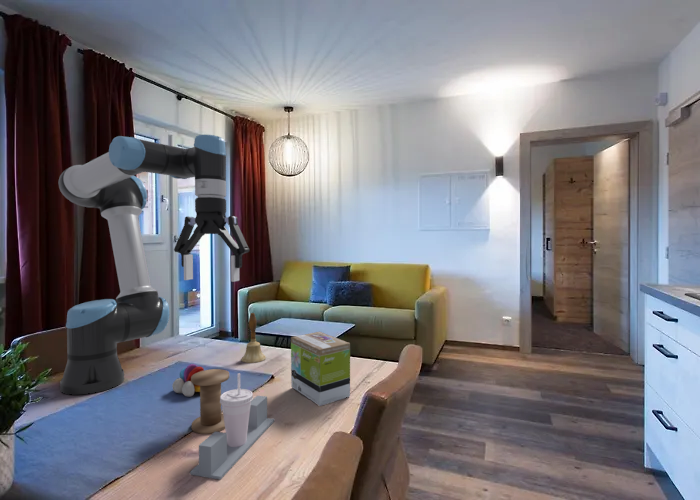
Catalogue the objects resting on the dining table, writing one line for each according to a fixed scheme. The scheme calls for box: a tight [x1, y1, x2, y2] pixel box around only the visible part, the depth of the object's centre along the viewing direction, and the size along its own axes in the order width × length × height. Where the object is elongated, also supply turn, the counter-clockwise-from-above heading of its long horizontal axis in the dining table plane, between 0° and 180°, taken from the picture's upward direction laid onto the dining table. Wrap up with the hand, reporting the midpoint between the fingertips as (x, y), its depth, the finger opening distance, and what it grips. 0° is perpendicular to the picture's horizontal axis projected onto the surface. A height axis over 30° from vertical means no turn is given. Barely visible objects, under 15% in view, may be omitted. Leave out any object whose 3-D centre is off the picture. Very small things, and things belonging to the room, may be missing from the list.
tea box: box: [290, 331, 351, 407], centre depth 105 cm, size 15×10×15 cm
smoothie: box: [220, 372, 254, 447], centre depth 78 cm, size 6×6×14 cm
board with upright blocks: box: [189, 395, 275, 480], centre depth 78 cm, size 6×22×6 cm, turn 166°
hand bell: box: [240, 312, 267, 364], centre depth 133 cm, size 8×8×16 cm
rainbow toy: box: [172, 363, 205, 398], centre depth 106 cm, size 8×10×7 cm
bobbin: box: [191, 368, 230, 435], centre depth 87 cm, size 8×8×11 cm
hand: (211, 280), depth 100 cm, fingers open, 13 cm apart
